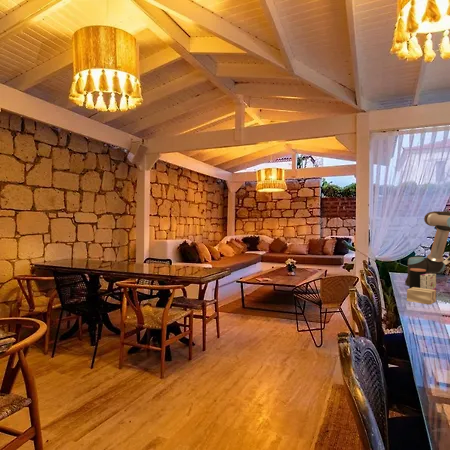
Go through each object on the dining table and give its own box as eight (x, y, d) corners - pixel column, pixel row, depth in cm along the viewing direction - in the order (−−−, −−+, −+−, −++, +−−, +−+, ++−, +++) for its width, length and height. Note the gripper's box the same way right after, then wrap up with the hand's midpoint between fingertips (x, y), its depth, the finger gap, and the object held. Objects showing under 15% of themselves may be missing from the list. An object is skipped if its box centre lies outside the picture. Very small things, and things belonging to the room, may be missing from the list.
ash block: (413, 298, 244) (413, 287, 244) (435, 302, 234) (436, 290, 234) (406, 301, 236) (407, 289, 236) (429, 305, 226) (430, 292, 226)
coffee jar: (428, 295, 252) (428, 270, 252) (411, 294, 254) (412, 270, 254) (422, 292, 263) (423, 268, 262) (407, 291, 265) (407, 268, 264)
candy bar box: (429, 296, 251) (429, 273, 250) (436, 297, 246) (436, 274, 246) (419, 297, 245) (419, 274, 245) (426, 299, 241) (426, 275, 241)
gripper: (475, 246, 216) (446, 268, 227) (482, 244, 234) (455, 264, 244) (465, 237, 219) (437, 259, 230) (472, 236, 237) (446, 256, 248)
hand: (446, 262), depth 237 cm, fingers open, 13 cm apart
